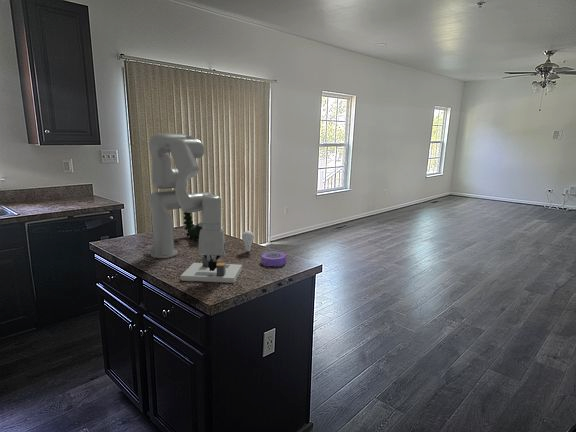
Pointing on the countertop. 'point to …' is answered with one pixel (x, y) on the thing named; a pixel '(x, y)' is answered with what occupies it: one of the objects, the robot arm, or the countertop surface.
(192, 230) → the toy figurine
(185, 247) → the countertop surface
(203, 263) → the on handle
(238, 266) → the board
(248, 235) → the lightbulb
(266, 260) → the masking tape
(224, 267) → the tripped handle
